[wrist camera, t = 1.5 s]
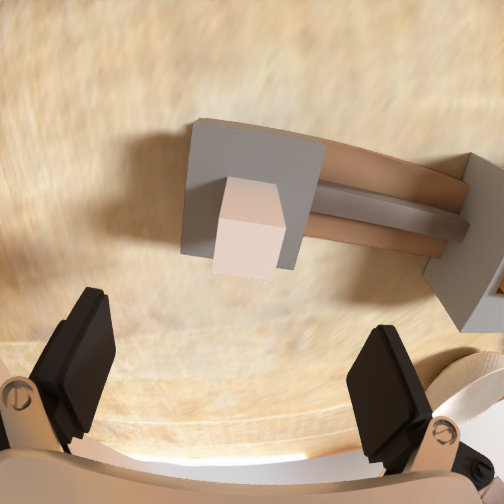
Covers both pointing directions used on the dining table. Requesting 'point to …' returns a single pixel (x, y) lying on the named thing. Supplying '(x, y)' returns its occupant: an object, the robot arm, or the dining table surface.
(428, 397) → the cereal bowl
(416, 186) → the rail track
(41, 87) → the dining table surface
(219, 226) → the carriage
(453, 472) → the robot arm
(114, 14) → the dining table surface
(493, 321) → the grey button housing
